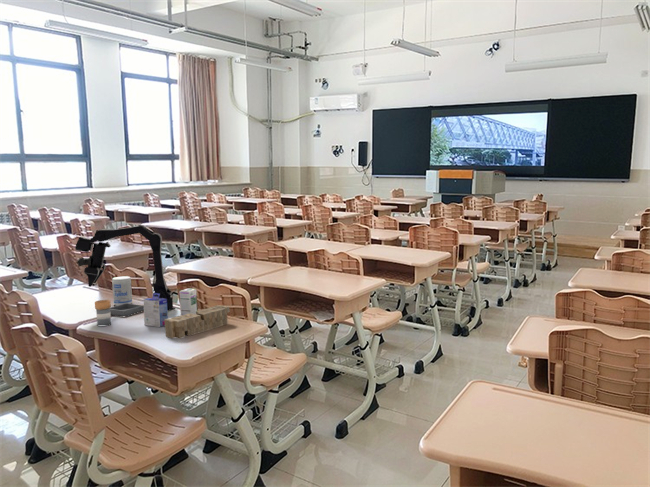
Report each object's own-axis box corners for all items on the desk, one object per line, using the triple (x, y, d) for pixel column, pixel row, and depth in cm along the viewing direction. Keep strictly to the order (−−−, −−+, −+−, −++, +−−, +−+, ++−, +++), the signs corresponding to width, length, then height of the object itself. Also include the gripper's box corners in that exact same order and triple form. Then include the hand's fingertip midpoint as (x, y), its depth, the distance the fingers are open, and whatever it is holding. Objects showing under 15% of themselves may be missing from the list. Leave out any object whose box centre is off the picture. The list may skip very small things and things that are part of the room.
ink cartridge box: (169, 324, 226) (167, 293, 225) (160, 327, 221) (158, 296, 220) (152, 322, 231) (150, 292, 229) (144, 325, 226) (141, 294, 224)
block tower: (176, 342, 204) (231, 323, 226) (174, 322, 202) (229, 305, 225) (165, 338, 208) (220, 320, 231) (163, 319, 207) (218, 303, 230)
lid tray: (143, 311, 252) (143, 305, 252) (124, 317, 241) (123, 311, 241) (126, 308, 258) (126, 303, 257) (106, 314, 247) (106, 308, 247)
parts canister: (114, 323, 230) (112, 306, 229) (103, 326, 225) (101, 309, 224) (105, 322, 232) (104, 305, 232) (94, 325, 227) (93, 308, 226)
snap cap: (113, 306, 229) (113, 300, 229) (101, 310, 223) (101, 303, 223) (104, 305, 232) (103, 298, 232) (92, 308, 226) (91, 301, 226)
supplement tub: (114, 307, 262) (112, 280, 261) (112, 303, 271) (110, 277, 269) (133, 304, 267) (131, 278, 265) (131, 301, 275) (129, 275, 273)
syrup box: (191, 321, 230) (189, 291, 228) (180, 320, 232) (179, 290, 230) (198, 318, 236) (196, 288, 234) (188, 317, 237) (186, 288, 236)
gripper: (85, 248, 251) (79, 278, 252) (75, 253, 233) (69, 285, 234) (108, 253, 254) (102, 282, 254) (100, 258, 235) (94, 289, 236)
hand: (92, 284), depth 245 cm, fingers open, 9 cm apart
